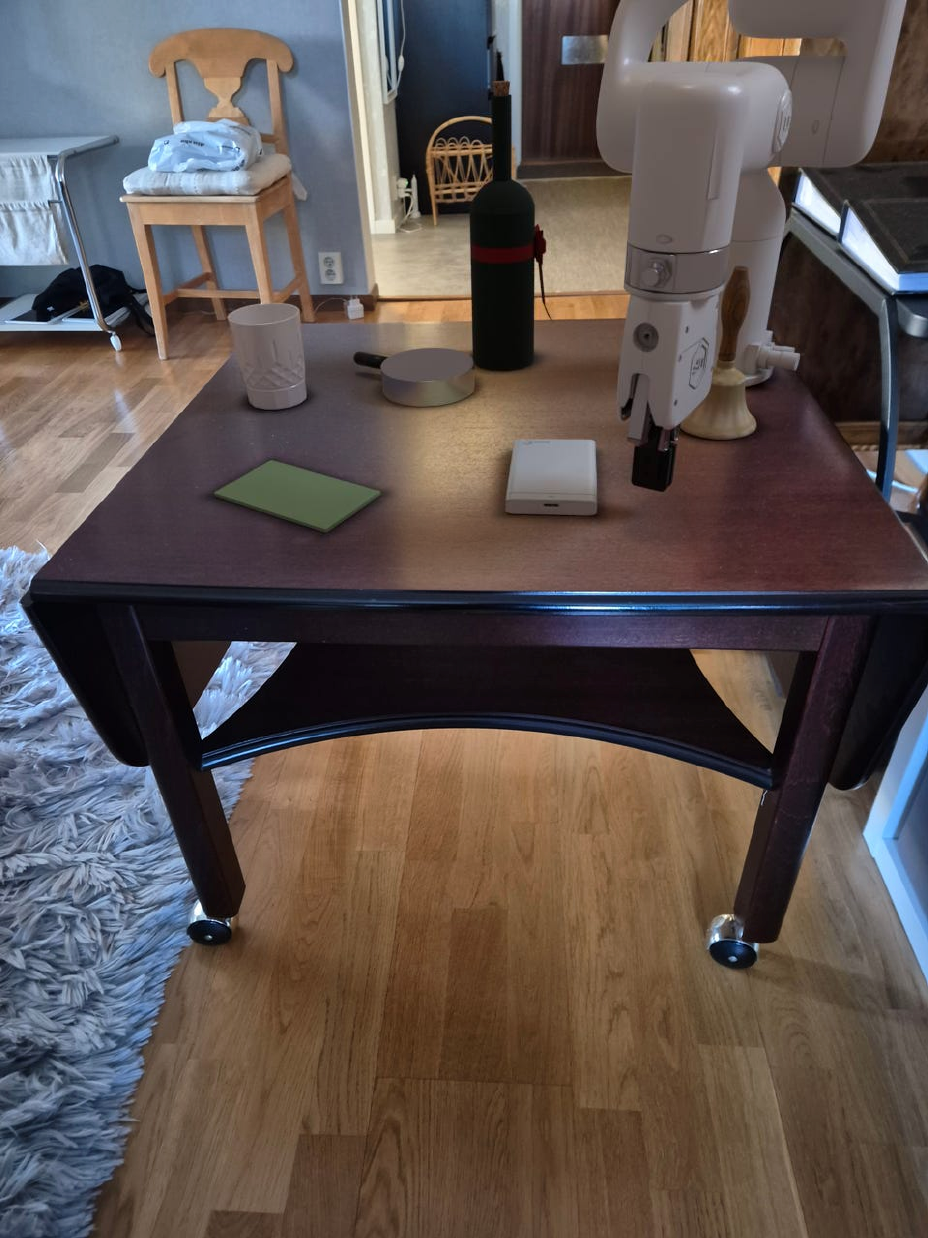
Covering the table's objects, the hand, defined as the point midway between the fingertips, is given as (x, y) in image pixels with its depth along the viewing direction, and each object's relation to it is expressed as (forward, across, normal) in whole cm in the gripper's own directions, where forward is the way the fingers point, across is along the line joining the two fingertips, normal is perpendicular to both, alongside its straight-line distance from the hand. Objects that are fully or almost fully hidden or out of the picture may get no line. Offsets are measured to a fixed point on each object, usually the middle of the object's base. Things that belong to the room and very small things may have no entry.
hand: (651, 484), depth 75 cm
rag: (+2, -14, +30) cm, 33 cm away
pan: (+2, +14, +37) cm, 39 cm away
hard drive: (+3, 0, +10) cm, 10 cm away
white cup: (+3, +3, +48) cm, 48 cm away
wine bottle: (+2, +27, +30) cm, 40 cm away
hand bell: (+2, +20, +1) cm, 20 cm away
